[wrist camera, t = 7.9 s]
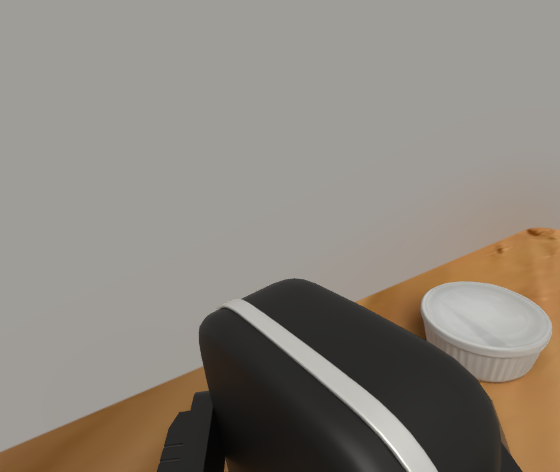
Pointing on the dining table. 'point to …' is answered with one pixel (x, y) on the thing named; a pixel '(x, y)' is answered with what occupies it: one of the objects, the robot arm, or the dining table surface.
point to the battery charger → (338, 389)
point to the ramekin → (486, 328)
